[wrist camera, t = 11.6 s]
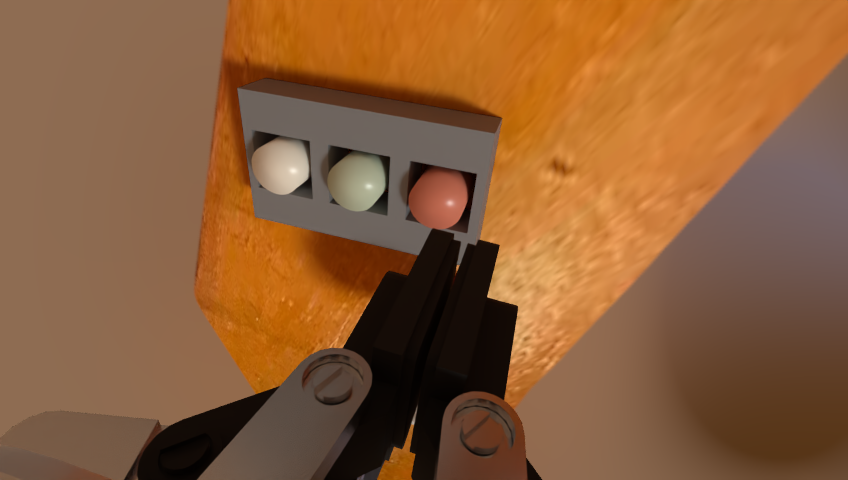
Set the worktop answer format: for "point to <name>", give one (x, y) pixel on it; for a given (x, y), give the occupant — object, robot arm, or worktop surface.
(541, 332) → the worktop surface
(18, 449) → the robot arm
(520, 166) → the worktop surface
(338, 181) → the sage button
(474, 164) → the panel
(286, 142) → the ivory button
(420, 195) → the brick button
